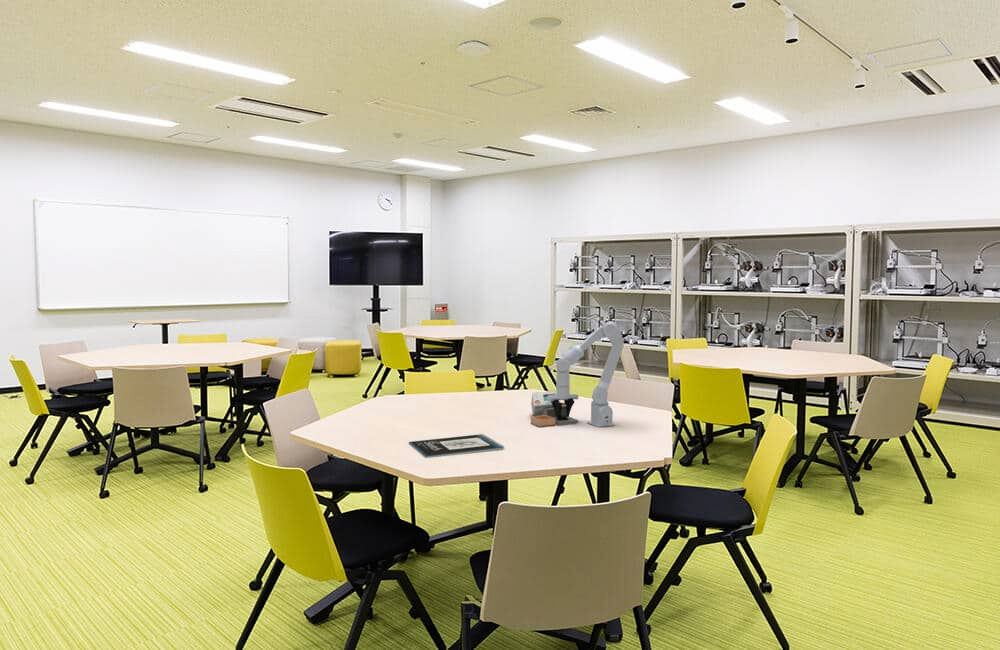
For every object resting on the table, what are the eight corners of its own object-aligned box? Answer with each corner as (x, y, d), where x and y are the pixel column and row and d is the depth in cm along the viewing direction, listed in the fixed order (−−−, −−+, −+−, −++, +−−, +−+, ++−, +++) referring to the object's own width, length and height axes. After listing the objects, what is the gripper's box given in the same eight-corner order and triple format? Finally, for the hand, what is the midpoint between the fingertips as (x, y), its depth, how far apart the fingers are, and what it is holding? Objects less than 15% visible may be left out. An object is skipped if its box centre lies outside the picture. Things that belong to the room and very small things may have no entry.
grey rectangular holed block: (578, 423, 288) (578, 411, 288) (557, 425, 284) (558, 413, 284) (563, 417, 300) (563, 406, 300) (543, 419, 296) (543, 407, 296)
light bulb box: (553, 400, 308) (555, 390, 299) (555, 414, 304) (558, 403, 295) (530, 403, 307) (531, 392, 298) (532, 416, 303) (534, 405, 294)
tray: (555, 425, 284) (555, 418, 284) (539, 427, 281) (539, 420, 280) (546, 422, 291) (546, 415, 291) (530, 423, 288) (530, 416, 287)
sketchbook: (408, 445, 252) (408, 439, 252) (483, 438, 264) (483, 432, 264) (425, 459, 232) (425, 453, 232) (505, 450, 244) (505, 445, 244)
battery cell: (568, 422, 290) (569, 403, 289) (560, 423, 288) (560, 404, 288) (564, 421, 293) (564, 401, 293) (556, 421, 292) (556, 402, 291)
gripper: (572, 383, 296) (572, 413, 297) (543, 385, 290) (543, 416, 291) (581, 385, 290) (580, 416, 291) (551, 387, 284) (551, 419, 285)
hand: (562, 416), depth 291 cm, fingers closed on battery cell, 4 cm apart
